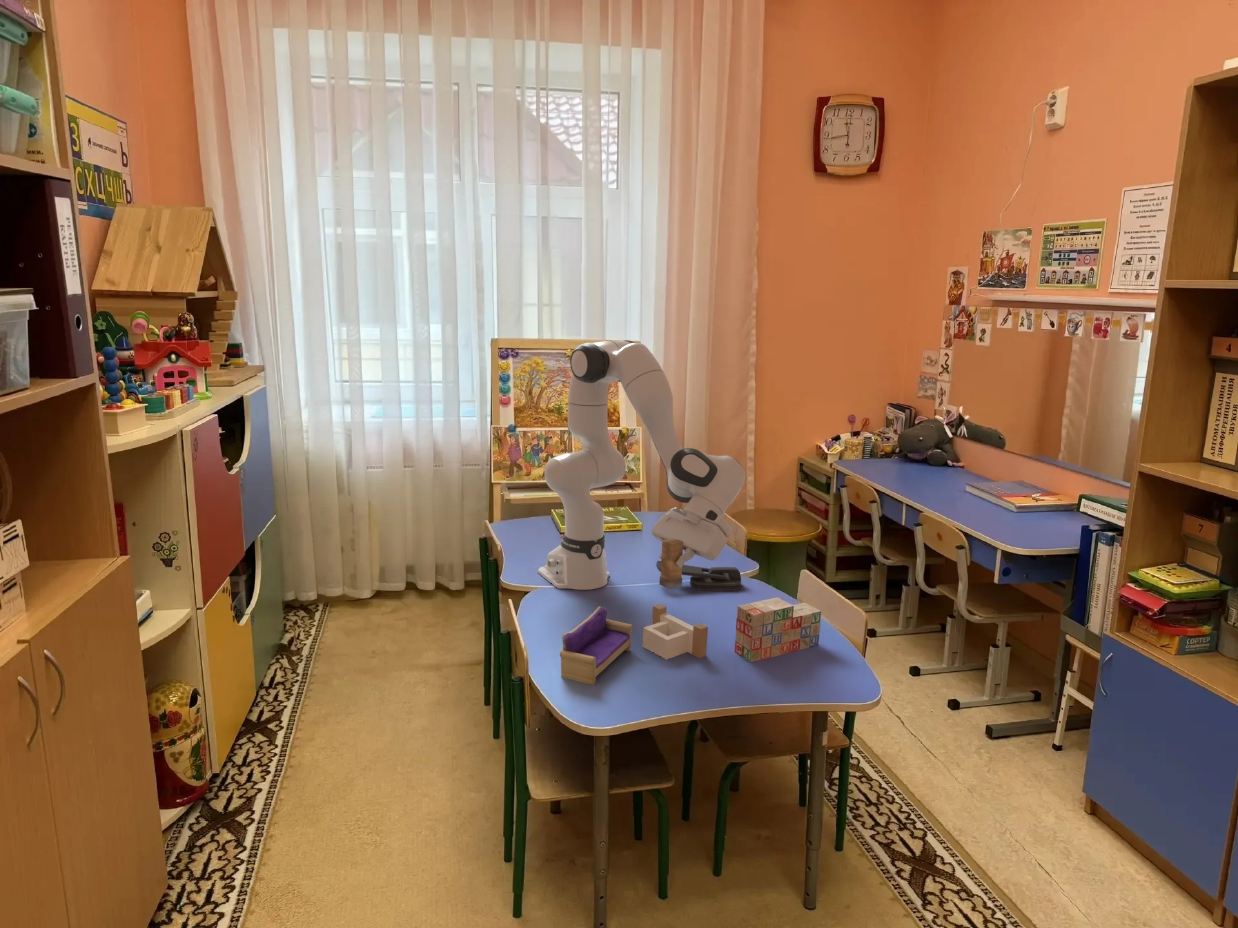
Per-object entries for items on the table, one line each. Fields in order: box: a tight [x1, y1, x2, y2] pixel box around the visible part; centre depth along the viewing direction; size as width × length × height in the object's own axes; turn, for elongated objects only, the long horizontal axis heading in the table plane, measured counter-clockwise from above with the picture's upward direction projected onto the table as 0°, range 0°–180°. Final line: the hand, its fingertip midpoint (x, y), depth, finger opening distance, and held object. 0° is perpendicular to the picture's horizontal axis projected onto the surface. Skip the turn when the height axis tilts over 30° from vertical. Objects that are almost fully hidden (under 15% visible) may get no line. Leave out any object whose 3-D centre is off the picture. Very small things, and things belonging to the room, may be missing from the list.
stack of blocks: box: [734, 597, 822, 663], centre depth 202 cm, size 21×6×12 cm, turn 119°
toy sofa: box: [559, 606, 633, 686], centre depth 192 cm, size 21×9×10 cm, turn 155°
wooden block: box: [659, 538, 684, 590], centre depth 197 cm, size 4×4×11 cm
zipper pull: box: [655, 560, 742, 592], centre depth 242 cm, size 9×7×25 cm
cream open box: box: [642, 603, 709, 660], centre depth 201 cm, size 17×9×8 cm, turn 40°
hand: (669, 562), depth 196 cm, fingers closed on wooden block, 3 cm apart
